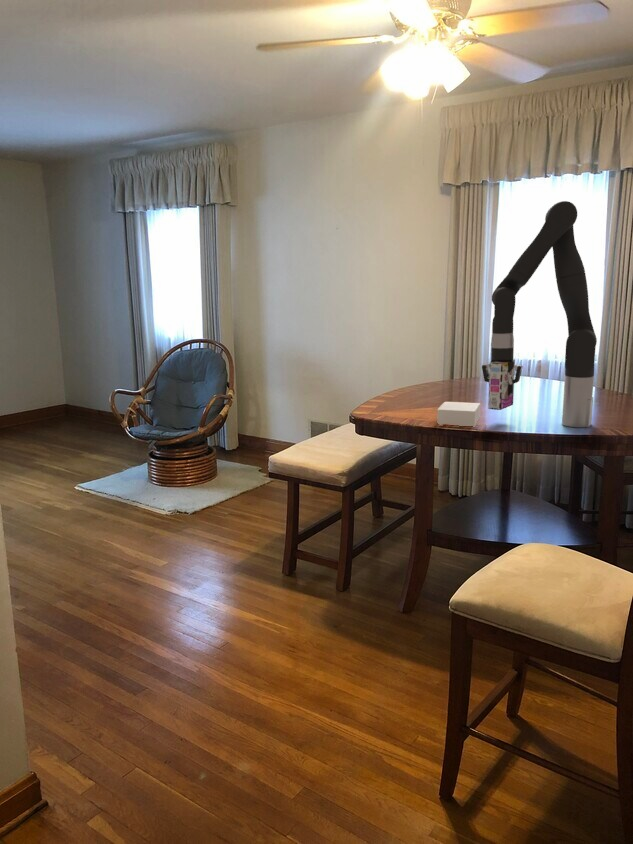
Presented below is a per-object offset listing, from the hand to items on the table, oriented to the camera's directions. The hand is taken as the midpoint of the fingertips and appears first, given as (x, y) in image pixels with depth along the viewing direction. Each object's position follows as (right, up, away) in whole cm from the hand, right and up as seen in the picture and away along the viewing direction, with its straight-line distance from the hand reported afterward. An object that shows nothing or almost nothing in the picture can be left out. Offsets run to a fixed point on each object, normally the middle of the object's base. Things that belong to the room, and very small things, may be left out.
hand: (501, 393), depth 231 cm
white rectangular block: (-14, -10, +6) cm, 18 cm away
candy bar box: (0, -5, +1) cm, 5 cm away
